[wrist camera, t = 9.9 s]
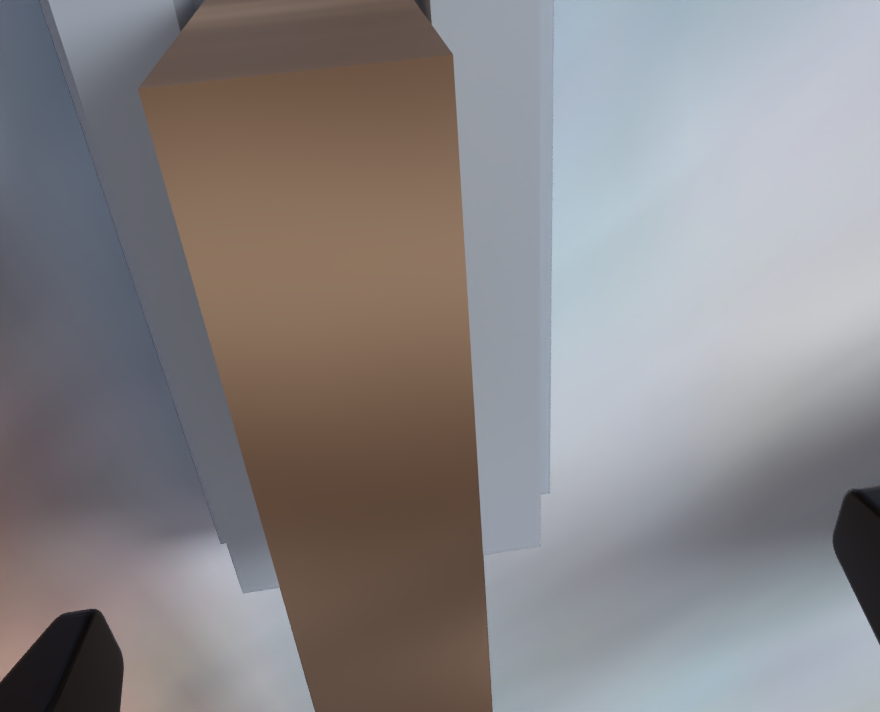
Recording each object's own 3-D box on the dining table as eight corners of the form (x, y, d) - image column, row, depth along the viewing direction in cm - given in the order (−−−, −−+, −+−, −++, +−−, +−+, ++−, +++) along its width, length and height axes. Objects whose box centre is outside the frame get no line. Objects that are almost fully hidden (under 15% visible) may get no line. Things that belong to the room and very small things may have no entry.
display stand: (539, 467, 24) (567, 541, 22) (224, 514, 24) (213, 597, 21) (539, -245, 14) (590, -268, 12) (-5, -201, 14) (-82, -216, 11)
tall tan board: (430, 433, 21) (493, 738, 14) (322, 448, 21) (328, 768, 14) (381, -44, 15) (453, 54, 7) (223, -29, 15) (131, 89, 7)
